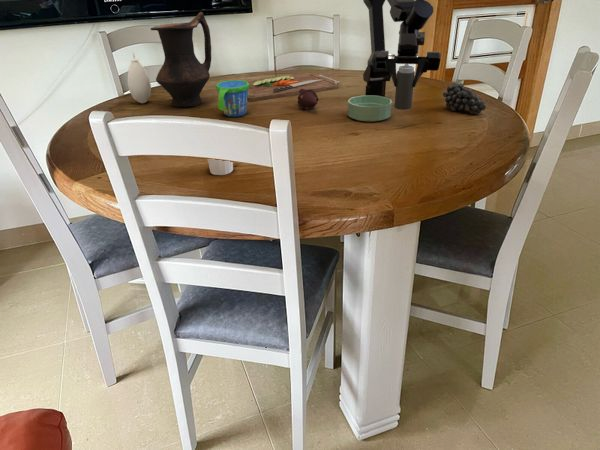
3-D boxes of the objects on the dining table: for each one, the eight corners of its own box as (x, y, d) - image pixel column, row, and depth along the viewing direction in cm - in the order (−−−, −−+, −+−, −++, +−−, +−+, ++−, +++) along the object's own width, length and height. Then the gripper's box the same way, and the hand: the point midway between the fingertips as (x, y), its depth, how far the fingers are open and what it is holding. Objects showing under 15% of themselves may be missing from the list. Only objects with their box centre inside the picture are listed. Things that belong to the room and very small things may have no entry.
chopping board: (314, 74, 206) (314, 67, 204) (346, 86, 185) (346, 79, 183) (218, 88, 188) (217, 80, 187) (241, 103, 168) (240, 94, 166)
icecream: (328, 93, 151) (311, 88, 164) (308, 90, 148) (291, 84, 161) (324, 115, 154) (307, 107, 166) (304, 112, 151) (288, 104, 163)
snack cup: (233, 122, 147) (230, 90, 142) (208, 118, 152) (204, 87, 147) (261, 110, 159) (259, 80, 154) (236, 106, 164) (234, 77, 159)
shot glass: (208, 165, 117) (205, 139, 113) (236, 164, 117) (233, 138, 114) (206, 176, 111) (202, 149, 107) (234, 175, 111) (232, 147, 108)
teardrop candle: (133, 106, 167) (122, 54, 158) (130, 101, 173) (120, 50, 164) (155, 103, 169) (146, 52, 160) (152, 98, 176) (142, 48, 167)
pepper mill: (402, 104, 141) (406, 61, 134) (414, 107, 137) (419, 63, 131) (390, 106, 138) (394, 63, 132) (402, 110, 135) (406, 66, 128)
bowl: (374, 107, 158) (375, 93, 156) (399, 118, 148) (400, 102, 145) (339, 113, 153) (339, 98, 151) (362, 125, 142) (363, 109, 140)
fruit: (493, 86, 144) (453, 77, 154) (477, 99, 141) (437, 89, 151) (493, 110, 150) (454, 100, 160) (477, 123, 147) (439, 112, 157)
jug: (170, 114, 157) (154, 18, 142) (154, 102, 170) (138, 14, 155) (227, 104, 166) (218, 13, 151) (207, 94, 180) (197, 9, 165)
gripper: (377, 21, 131) (371, 69, 127) (445, 21, 127) (441, 71, 124) (377, 45, 142) (372, 90, 138) (439, 46, 138) (436, 92, 134)
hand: (404, 86), depth 133 cm, fingers closed on pepper mill, 5 cm apart
